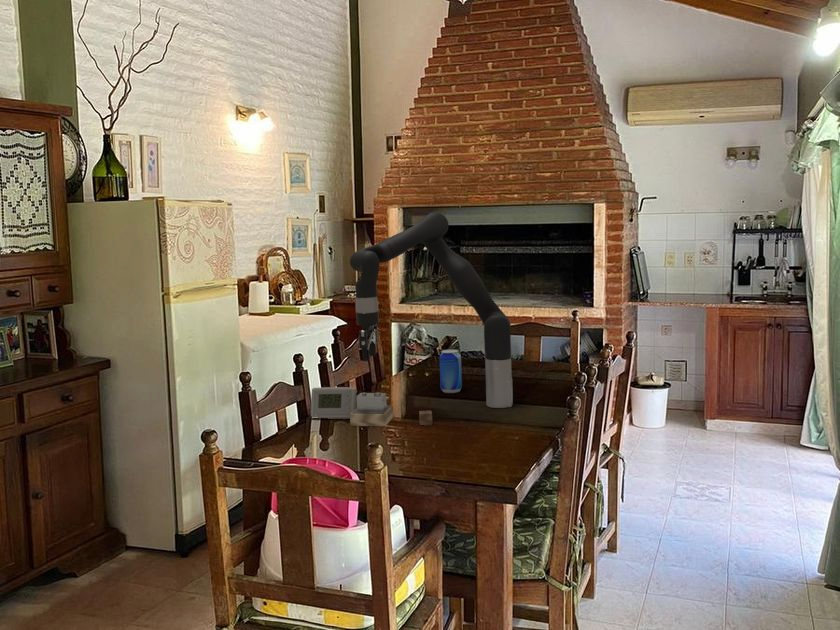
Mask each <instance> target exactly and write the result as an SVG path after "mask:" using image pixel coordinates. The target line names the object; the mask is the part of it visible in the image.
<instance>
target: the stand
mask: <svg viewBox="0 0 840 630" xmlns="http://www.w3.org/2000/svg"><path fill="white" fill-rule="evenodd" d="M393 418H394V405H390V404H389V405H387V408H386V409H385V410H383V411H357V407H356V409H355V410H354V411H353V412H352V413H351V414H350V419H349V422H350V425H349V426H350V427H354V426H356V427H386V426H387V425H388V424H389V423H390V422H391V421H392V419H393Z"/></svg>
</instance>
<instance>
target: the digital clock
mask: <svg viewBox="0 0 840 630" xmlns="http://www.w3.org/2000/svg"><path fill="white" fill-rule="evenodd" d="M310 396H311V397H310V417H311V416H312V417H318V418H328V419H343V420H350V414H351V413H352V412H353V411H354V410H355V409H356V408H357V399H356V396H357V389H356V388H355V387H353V386H352V387H351V386H350V387H345V386H333V387H332V386H327V387H326V386H323V387H313V388H312V389H311V395H310ZM315 414H316V415H315Z"/></svg>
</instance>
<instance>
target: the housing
mask: <svg viewBox="0 0 840 630" xmlns="http://www.w3.org/2000/svg"><path fill="white" fill-rule="evenodd" d="M356 408H357V411H383V410H385V409H386V408H387V393H385V392H381V391H380V392H379V391H377V392H360V393H359V394H358V395H357V394H356Z"/></svg>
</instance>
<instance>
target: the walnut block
mask: <svg viewBox="0 0 840 630" xmlns="http://www.w3.org/2000/svg"><path fill="white" fill-rule="evenodd" d="M418 412H419V417H418V418H419V425H424V426H433V413H432V410H419V411H418Z"/></svg>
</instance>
